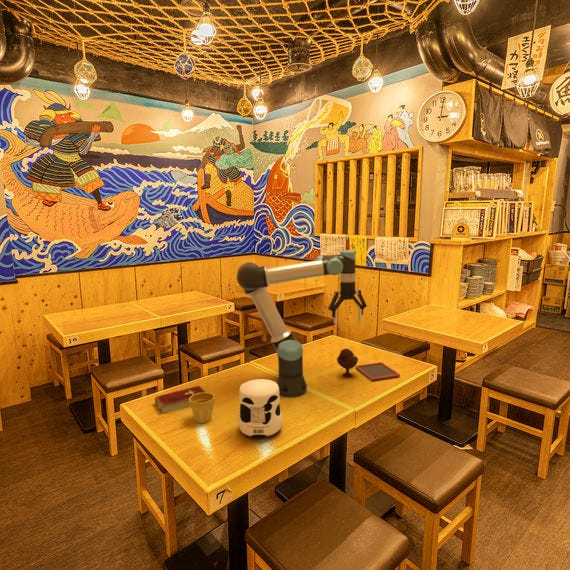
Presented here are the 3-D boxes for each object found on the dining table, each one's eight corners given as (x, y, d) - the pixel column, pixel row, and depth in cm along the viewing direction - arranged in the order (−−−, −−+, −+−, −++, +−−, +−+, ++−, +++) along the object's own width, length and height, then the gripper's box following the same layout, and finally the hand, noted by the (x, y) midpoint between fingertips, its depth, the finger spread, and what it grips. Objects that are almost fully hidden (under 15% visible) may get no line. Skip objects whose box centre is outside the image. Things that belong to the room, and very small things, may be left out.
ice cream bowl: (359, 379, 201) (360, 351, 198) (337, 380, 201) (337, 351, 199) (356, 371, 211) (356, 344, 209) (335, 371, 212) (335, 345, 209)
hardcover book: (155, 404, 181) (154, 395, 180) (199, 392, 192) (198, 384, 191) (162, 415, 171) (161, 406, 170) (208, 402, 182) (208, 393, 181)
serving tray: (371, 381, 198) (371, 378, 198) (355, 368, 215) (355, 365, 215) (399, 377, 203) (399, 374, 202) (381, 365, 220) (381, 362, 219)
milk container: (266, 414, 168) (265, 374, 165) (291, 431, 154) (290, 388, 151) (230, 428, 158) (228, 385, 155) (253, 447, 144) (251, 401, 141)
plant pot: (204, 410, 173) (203, 389, 171) (220, 417, 166) (219, 396, 165) (185, 420, 165) (183, 398, 163) (201, 428, 158) (199, 405, 157)
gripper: (327, 284, 191) (327, 326, 194) (373, 280, 198) (373, 321, 201) (321, 281, 198) (322, 323, 202) (366, 278, 205) (366, 318, 208)
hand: (347, 322), depth 201 cm, fingers open, 13 cm apart
